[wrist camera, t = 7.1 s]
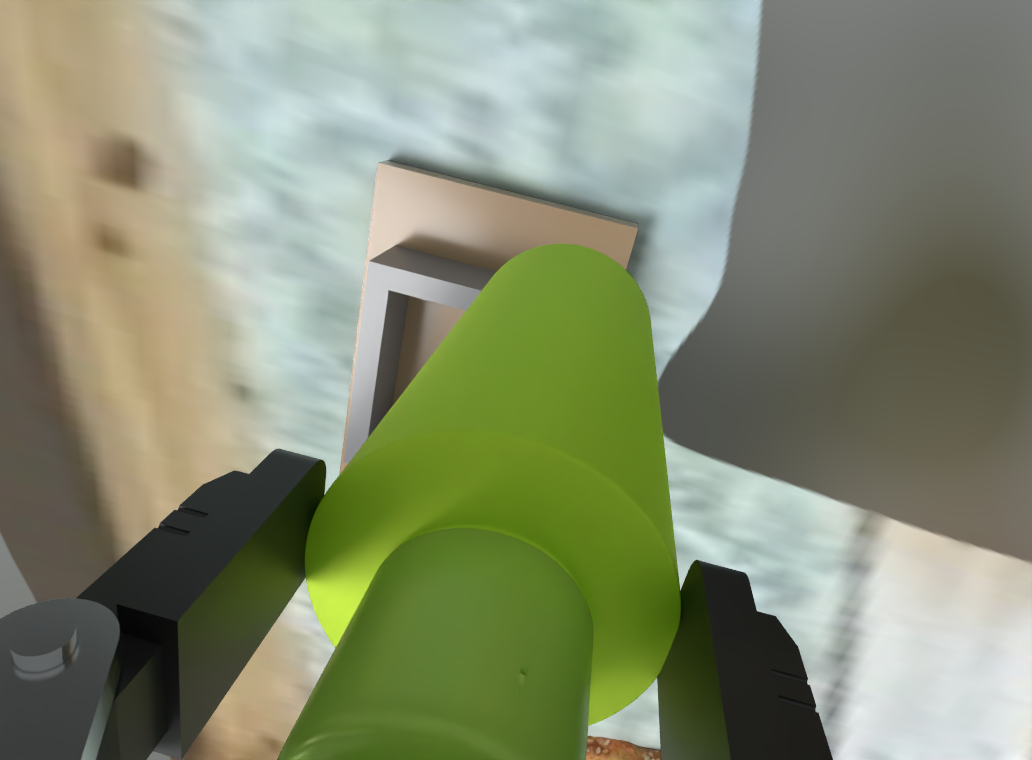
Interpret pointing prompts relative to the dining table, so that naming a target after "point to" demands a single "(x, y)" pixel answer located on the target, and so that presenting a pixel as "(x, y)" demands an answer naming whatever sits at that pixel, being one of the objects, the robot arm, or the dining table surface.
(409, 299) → the soap caddy
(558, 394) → the soap dispenser
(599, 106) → the dining table surface
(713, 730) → the robot arm
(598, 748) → the bread slice
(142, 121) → the dining table surface
